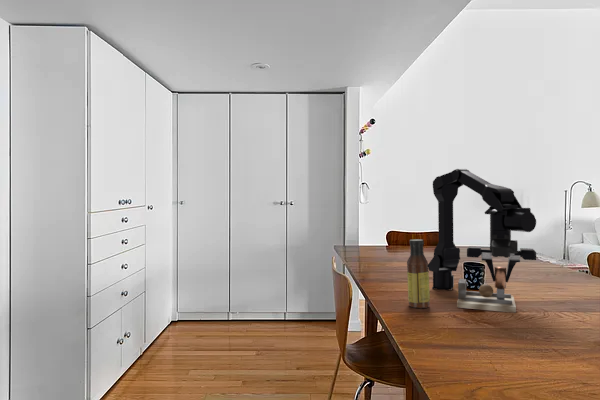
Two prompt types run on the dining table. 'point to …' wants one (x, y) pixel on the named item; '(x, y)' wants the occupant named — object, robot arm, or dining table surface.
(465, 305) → the nutcracker board
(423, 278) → the sauce bottle
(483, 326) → the dining table surface
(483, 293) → the walnut
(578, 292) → the dining table surface
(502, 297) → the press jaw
